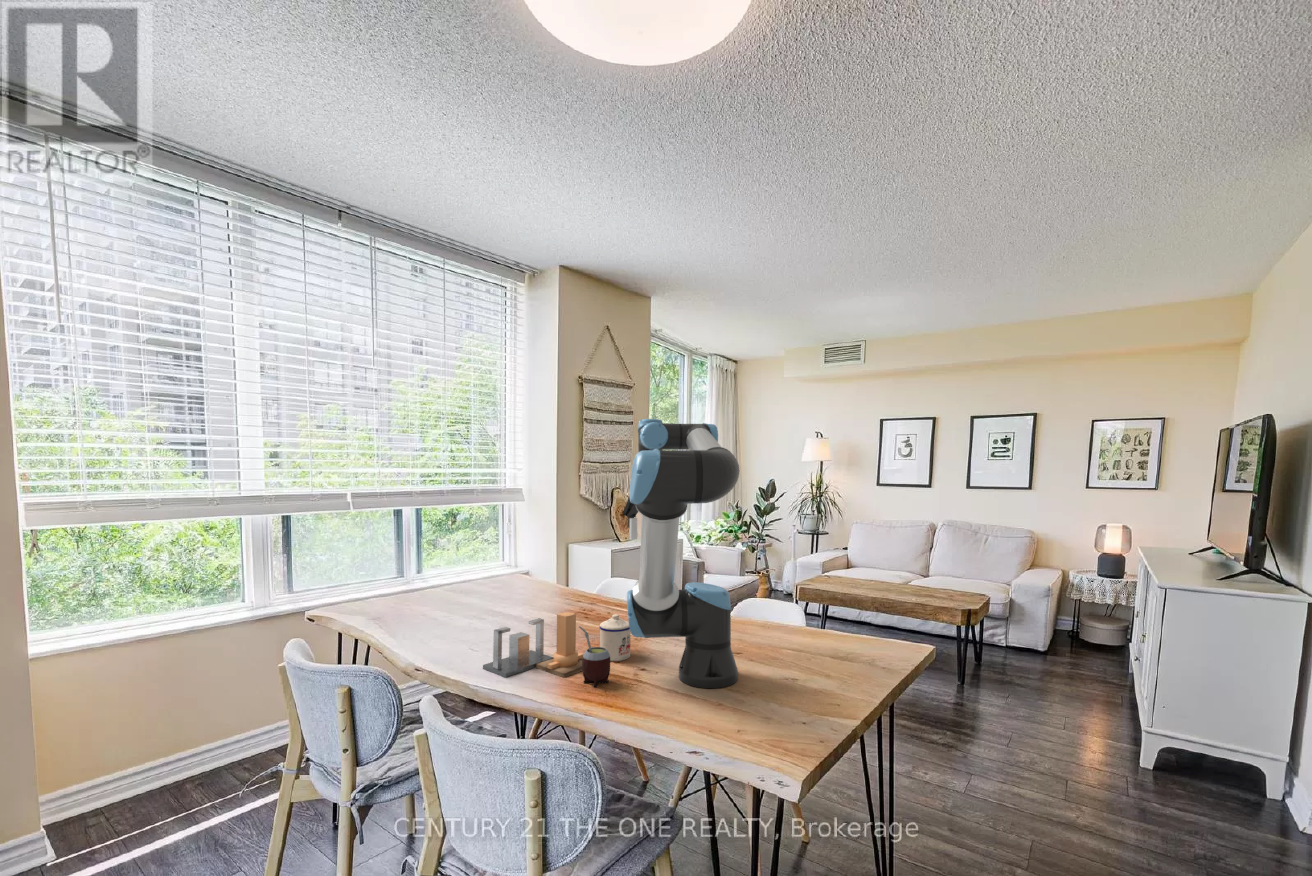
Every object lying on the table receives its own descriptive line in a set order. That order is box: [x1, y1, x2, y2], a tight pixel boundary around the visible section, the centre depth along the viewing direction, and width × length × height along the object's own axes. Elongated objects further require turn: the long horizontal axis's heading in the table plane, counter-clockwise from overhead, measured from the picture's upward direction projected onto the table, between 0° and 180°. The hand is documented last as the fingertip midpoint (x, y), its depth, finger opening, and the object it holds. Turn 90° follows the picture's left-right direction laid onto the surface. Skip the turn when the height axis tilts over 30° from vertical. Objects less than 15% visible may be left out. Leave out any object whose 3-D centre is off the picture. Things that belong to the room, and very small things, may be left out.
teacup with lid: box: [599, 613, 631, 662], centre depth 160 cm, size 12×9×12 cm
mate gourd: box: [578, 626, 612, 688], centre depth 139 cm, size 8×8×15 cm
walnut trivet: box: [535, 658, 583, 678], centre depth 150 cm, size 11×11×1 cm
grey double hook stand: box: [482, 617, 554, 678], centre depth 152 cm, size 16×10×11 cm, turn 141°
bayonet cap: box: [547, 611, 584, 669], centre depth 151 cm, size 12×6×13 cm, turn 141°
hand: (650, 541), depth 167 cm, fingers open, 13 cm apart
